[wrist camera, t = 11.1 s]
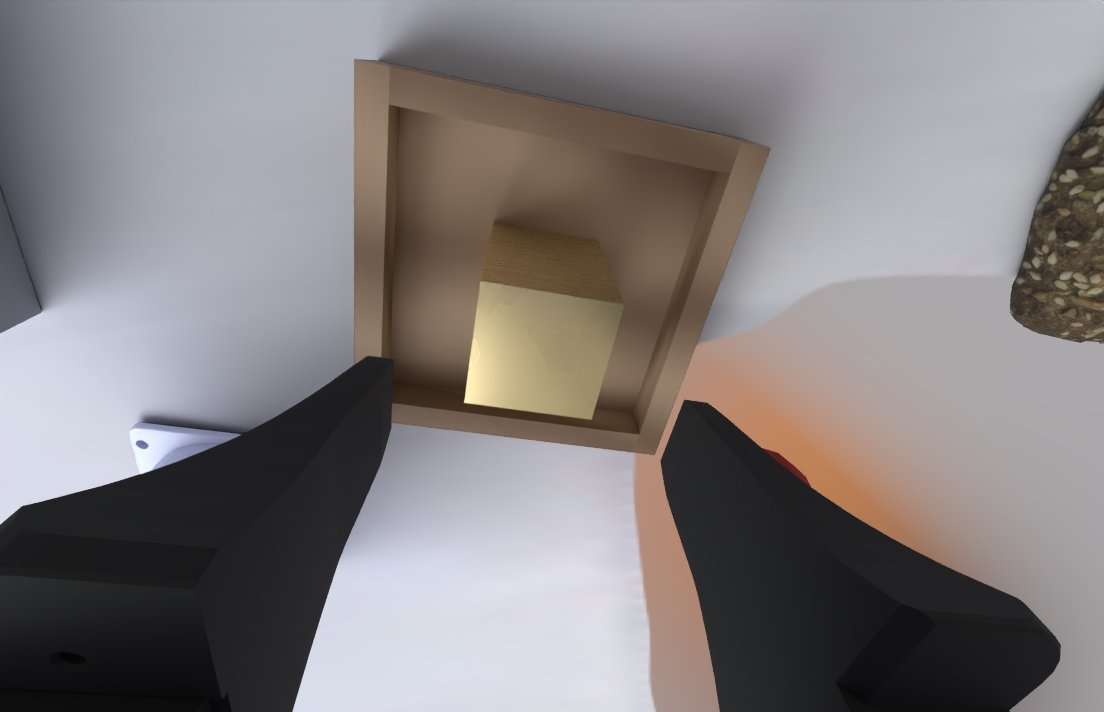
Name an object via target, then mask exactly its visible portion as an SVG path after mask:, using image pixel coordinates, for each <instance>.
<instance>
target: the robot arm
mask: <svg viewBox="0 0 1104 712" xmlns="http://www.w3.org/2000/svg"><path fill="white" fill-rule="evenodd" d="M393 376H394V359H389V358H382V357H375V356H366V357H365V358H363V359H362V360H361V361H359V362H358V363H356V364H355V365H353V366H352V367H351V368H349V369H348V370H347V371H345V372H344V373H342V374H341V375H340V376H338V377H337V378H335V379H334V380H333V381H331V382H330V383H328V384H327V385H326V386H324V387H323V388H321V389H320V390H318V391H317V392H315V393H314V394H312V395H311V396H309V397H308V398H306V399H305V400H303V401H301V402H300V403H298V404H296V405H295V406H293V407H292V408H290V409H288V410H287V411H285V412H283V413H282V414H280V415H278V416H277V417H275V418H273V419H271V420H269V421H267V422H266V423H264V424H262V425H260V426H258V427H256V428H254V429H252V430H250V431H248V432H246V433H244V434H235V433H226V432H217V431H209V430H200V429H191V428H183V427H174V426H166V425H157V424H148V423H137V424H135V425H134V426H133V427H132V428H131V429H130V430H129V437H130V441H131V444H132V448H133V451H134V455H135V459H136V462H137V466H138V470H139V473H140V474H139V475H136V476H133V477H130V478H127V479H123V480H120V481H117V482H113V483H110V484H107V485H103V486H100V487H96V488H92V489H88V490H84V491H81V492H77V493H73V494H69V495H65V496H61V497H58V498H54V499H50V500H46V501H42V502H38V503H34V504H30V505H25V506H22V507H21V508H20V509H18V510H17V511H16V512H15V513H13V514H12V515H11V516H10V517H9V518H7V519H6V520H5V521H4V522H3V523H2V524H1V525H0V712H292V711H293V708H294V704H295V701H296V697H297V694H298V691H299V687H300V684H301V680H302V677H303V674H304V670H305V667H306V663H307V660H308V657H309V653H310V650H311V647H312V643H313V640H314V637H315V634H316V630H317V627H318V624H319V621H320V618H321V614H322V611H323V608H324V605H325V602H326V599H327V595H328V592H329V589H330V586H331V583H332V580H333V577H334V574H335V571H336V568H337V565H338V562H339V559H340V557H341V554H342V552H343V549H344V546H345V544H346V542H347V539H348V537H349V535H350V533H351V530H352V528H353V526H354V524H355V521H356V519H357V517H358V515H359V512H360V510H361V508H362V506H363V503H364V501H365V499H366V497H367V494H368V492H369V490H370V488H371V485H372V483H373V481H374V478H375V476H376V474H377V471H378V469H379V467H380V464H381V461H382V458H383V455H384V451H385V448H386V444H387V441H388V437H389V434H390V430H391V420H392V398H393ZM144 441H145V442H146V443H145V442H144ZM661 466H662V474H663V480H664V485H665V490H666V496H667V499H668V502H669V506H670V509H671V512H672V515H673V518H674V521H675V524H676V527H677V530H678V533H679V536H680V539H681V542H682V545H683V548H684V551H685V554H686V557H687V560H688V563H689V566H690V570H691V572H692V575H693V579H694V582H695V586H696V590H697V593H698V597H699V602H700V607H701V611H702V616H703V620H704V625H705V630H706V634H707V640H708V644H709V650H710V655H711V661H712V666H713V672H714V677H715V683H716V690H717V696H718V703H719V709H720V712H1010V711H1009V710H1010V709H1011V708H1012V707H1014V706H1015V705H1016V704H1017V703H1018V702H1020V701H1021V700H1022V699H1023V698H1025V697H1026V696H1027V695H1028V694H1029V693H1031V692H1032V691H1033V690H1034V689H1036V688H1037V687H1038V686H1039V685H1040V684H1042V683H1043V682H1044V681H1045V680H1046V679H1047V678H1048V677H1049V676H1050V675H1051V674H1052V673H1053V672H1054V670H1055V668H1056V666H1057V664H1058V663H1059V661H1060V649H1061V645H1060V643H1059V642H1058V640H1057V639H1056V637H1055V636H1054V635H1053V634H1052V632H1051V631H1050V630H1049V629H1048V628H1047V627H1046V626H1045V625H1044V624H1043V623H1042V622H1041V621H1040V620H1039V618H1038V617H1037V616H1036V615H1035V614H1034V613H1033V612H1032V611H1031V610H1030V609H1029V608H1028V607H1027V606H1026V605H1025V604H1024V603H1023V602H1022V601H1021V600H1019V599H1018V598H1016V597H1013V596H1011V595H1009V594H1007V593H1004V592H1002V591H1000V590H997V589H995V588H993V587H991V586H988V585H986V584H984V583H981V582H979V581H977V580H975V579H972V578H970V577H968V576H966V575H963V574H961V573H959V572H957V571H955V570H952V569H950V568H948V567H946V566H944V565H942V564H940V563H938V562H936V561H934V560H932V559H930V558H928V557H926V556H924V555H922V554H920V553H918V552H916V551H914V550H912V549H911V548H909V547H907V546H905V545H903V544H901V543H899V542H897V541H896V540H894V539H892V538H890V537H888V536H887V535H885V534H883V533H882V532H880V531H878V530H876V529H875V528H873V527H871V526H869V525H868V524H866V523H864V522H863V521H861V520H859V519H858V518H856V517H855V516H853V515H851V514H850V513H848V512H847V511H845V510H843V509H842V508H841V507H839V506H837V505H836V504H835V503H833V502H832V501H830V500H829V499H827V498H826V497H824V496H822V495H821V494H820V493H818V492H817V491H816V490H814V489H813V488H811V487H810V486H809V485H807V484H806V483H805V482H803V481H802V480H801V479H799V478H798V477H797V476H796V475H794V474H793V473H792V472H790V471H789V470H788V469H787V468H785V467H784V466H783V465H781V464H780V463H779V462H778V461H777V460H775V459H774V458H773V457H772V456H770V455H769V454H768V453H767V452H766V451H764V450H763V449H762V448H761V447H760V446H759V445H757V444H756V443H755V442H754V441H753V440H752V439H750V438H749V437H748V436H747V435H746V434H744V433H743V432H742V431H741V430H740V429H739V428H738V427H737V426H735V425H734V424H733V423H732V422H731V421H730V420H728V419H727V418H726V417H725V416H724V415H722V414H721V413H720V412H719V411H717V410H716V409H715V408H714V407H712V406H711V405H709V404H708V403H704V402H697V401H690V400H684V402H683V405H682V407H681V410H680V412H679V415H678V418H677V420H676V423H675V425H674V428H673V430H672V433H671V435H670V438H669V441H668V443H667V446H666V448H665V451H664V453H663V456H662V459H661Z"/></svg>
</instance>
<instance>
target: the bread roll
mask: <svg viewBox="0 0 1104 712" xmlns="http://www.w3.org/2000/svg"><path fill="white" fill-rule="evenodd" d="M1010 313H1011V315H1012V316H1013V317H1014V319H1015V320H1016V321H1017V322H1019V323H1020V324H1022V325H1023V326H1024V327H1026V328H1028V329H1030V330H1032V331H1034V332H1037V333H1039V334H1044V335H1049V336H1053V337H1058V338H1061V339H1065V340H1070V341H1075V342H1080V343H1081V342H1084V341H1095V342H1099V343H1101V344H1104V93H1103V94H1102V96H1101V97H1100V98H1099V100H1098V101H1097V103H1096V104H1095V105H1094V107H1093V108H1092V110H1091V112H1090V114H1089V115H1088V117H1087V119H1086V121H1085V122H1084V124H1083V126H1082V128H1081V129H1080V130H1078V131H1077V132H1076V133H1075V134H1074V135H1073V136H1072V137H1071V138H1070V139H1069V140H1068V141H1067V143H1066V144H1065V145H1064V148H1063V150H1062V153H1061V155H1060V158H1059V160H1058V163H1057V165H1056V168H1055V170H1054V173H1053V175H1052V176H1051V179H1050V181H1049V184H1048V187H1047V189H1046V191H1045V193H1044V195H1043V196H1042V198H1041V200H1040V202H1039V203H1038V205H1037V207H1036V209H1035V211H1034V215H1033V219H1032V223H1031V227H1030V231H1029V235H1028V241H1027V246H1026V250H1025V254H1024V258H1023V261H1022V264H1021V267H1020V270H1019V273H1018V275H1017V277H1016V279H1015V281H1014V283H1013V285H1012V291H1011V300H1010Z"/></svg>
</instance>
